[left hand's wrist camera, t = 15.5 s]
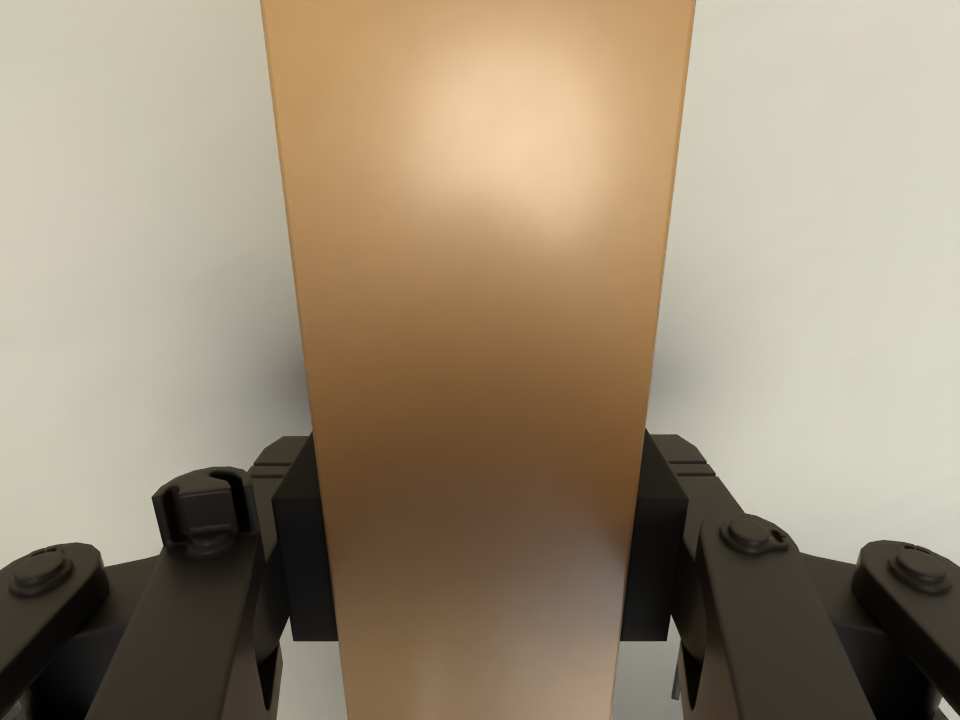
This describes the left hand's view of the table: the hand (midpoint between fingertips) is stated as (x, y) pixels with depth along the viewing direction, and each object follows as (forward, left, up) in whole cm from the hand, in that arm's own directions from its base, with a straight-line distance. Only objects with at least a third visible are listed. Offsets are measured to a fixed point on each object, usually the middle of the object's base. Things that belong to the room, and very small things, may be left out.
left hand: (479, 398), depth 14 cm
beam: (+28, +12, -1) cm, 30 cm away
